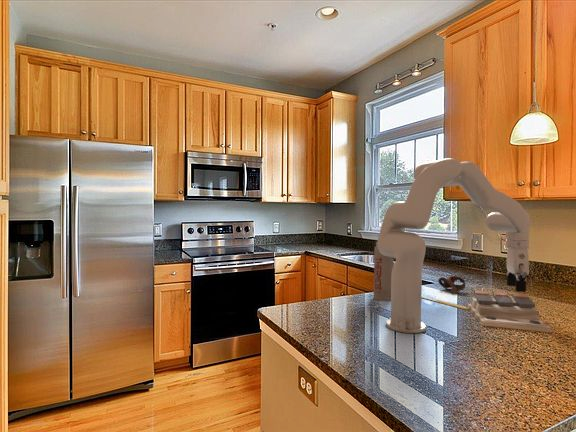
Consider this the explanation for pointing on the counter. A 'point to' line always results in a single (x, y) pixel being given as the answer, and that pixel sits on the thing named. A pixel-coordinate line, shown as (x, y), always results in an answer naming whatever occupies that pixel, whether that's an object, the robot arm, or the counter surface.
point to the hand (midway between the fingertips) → (515, 288)
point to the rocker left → (483, 297)
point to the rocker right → (523, 300)
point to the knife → (448, 303)
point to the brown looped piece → (452, 283)
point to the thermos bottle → (382, 275)
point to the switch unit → (507, 316)
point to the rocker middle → (503, 299)
